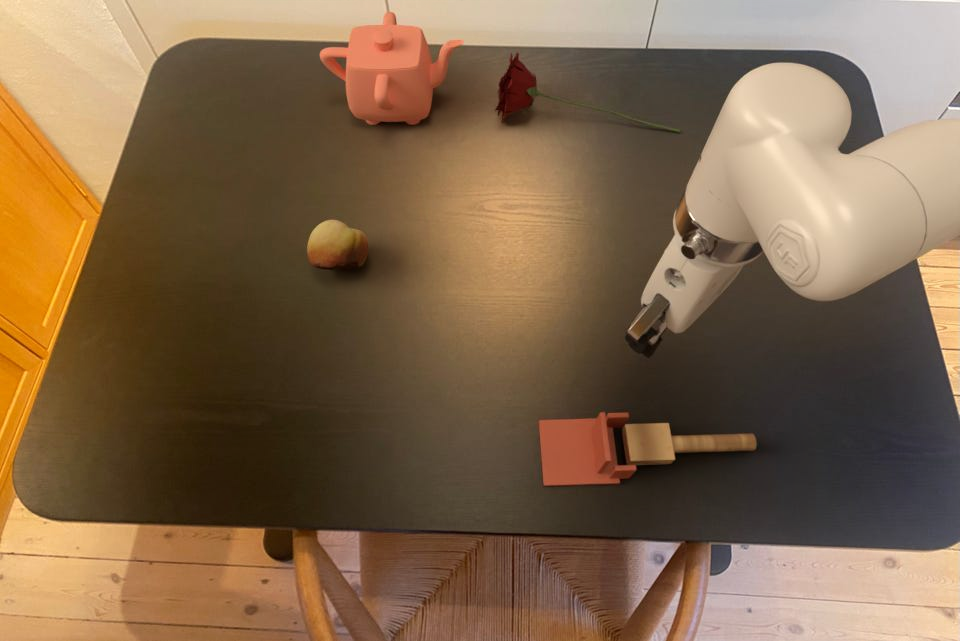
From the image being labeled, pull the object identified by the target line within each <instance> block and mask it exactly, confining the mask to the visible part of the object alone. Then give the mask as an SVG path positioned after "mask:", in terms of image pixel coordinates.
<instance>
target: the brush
mask: <svg viewBox="0 0 960 641" xmlns="http://www.w3.org/2000/svg"><path fill="white" fill-rule="evenodd" d="M670 427H671V426H670V423H669V422H656V423H653V422H652V423H624V425H623V426H622V428H621V434H622V443H623V448H624V449H623V450H624V456H625V463H626V464H625V465H636V466H654V465H655V466H656V465H657V466H658V465H671V464H672V463H673V462H674V461H676V454H681V453H682V454H683V453H684V454H686V453H714V452H715V453H717V452H718V453H719V452H747V451H748V452H750V451H751V452H752V451H755V450H756V449H757V446H758V444H757V443H758V442H757V438H756V436H755V433H752V432H749V433H748V432H747V433H746V432H745V433H716V434H712V433H711V434H690V435H689V434H686V435H685V434H683V435H681V434H679V435H672V433H671V428H670Z"/></svg>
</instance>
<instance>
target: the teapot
mask: <svg viewBox="0 0 960 641" xmlns="http://www.w3.org/2000/svg"><path fill="white" fill-rule="evenodd" d="M397 22H398V21H397V16H396V14H395V13H394V12H393V11H387V12H385V13H384V15H383V19H382V24H368V25H367V24H366V25H359V26H355V27H353V28H352V29H351V31H350V35H349V38H348V47H343V46H328V47H325V48H322V49H321V50H320V52H319V59H320V62H321V63H322V64H323V65H324V66H325V67H326V69H327V70H328V71H330V72H331V73H333V74H334V75H335V76H336V77H337V78H339V79H341V80H342V81H343V82H345V94H346V98H347V99H346V100H347V105H348V109H349V111H350V112H351V113H352V115H353V116H354V117H355V118H356V119H359V120H362V121H363V120H364V121H365V122H366V123H367V124H368V125H371V126H372V125H374V126H375V125H378V124H380V123H381V122H383V123H384V122H385V123H399V122H405V123H406V124H408V125H410V126H412V125H413V126H414V125H417V124H419V123H420V122H421V121H422V120H424V119H426V118H427V117H428V116H429V115H430V111H431V108H432V102H433V97H434V96H433V95H434V89H436V88H437V87H438V86H440V85H441V84H443V82H444V80H445V78H446V76H447V72H448V68H449V62H450V57H451V55H452V52H453V51H454V50H456V49H457V48H459V47H460V46H462V45H463V44H464V43H465V41H464V40H463V39H452V40H448V41H446V42H445V43H444V44H443V45H442V46H441V48H440V50H439V55H438V59H437V60H436V61H435V62H433V59H432V55H431V50H430V47H429V45H428V41H427V39H426V36H425V33H424V31H423V29H422V28H421V27H418V26H415V25H406V24H398V23H397ZM335 58H342V59H343V58H345V59H346V62H345V64H346V65H345V69H344V67H342V66H341V65H340V64H339V62H338V61H337V60H336V59H335Z"/></svg>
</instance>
